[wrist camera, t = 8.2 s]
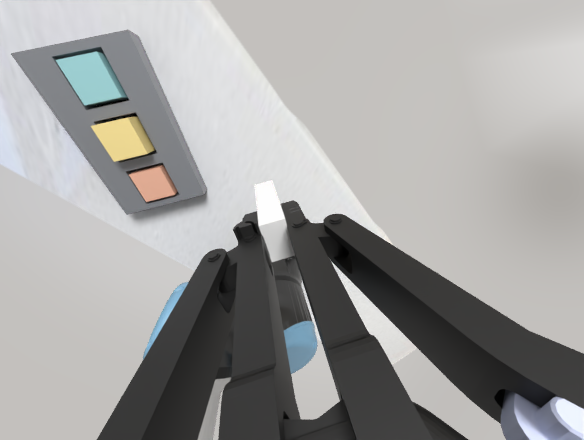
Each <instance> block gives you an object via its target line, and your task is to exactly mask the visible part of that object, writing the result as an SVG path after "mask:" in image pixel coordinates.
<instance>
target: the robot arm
mask: <svg viewBox="0 0 584 440" xmlns="http://www.w3.org/2000/svg"><path fill="white" fill-rule="evenodd" d="M254 186H255V195H256V205H257V211H256V212H253V213H249V214H246V215H245V216H244V218H243V222H240V223H239V224H237V225H236V226H235V227H234V229H233V231H234V233H235V235H236V238H237V240H238V246H237V247H236V248H234V249H232V250H230V251H228V252H226V251H225V250H224V249H215V250H212V251H210V252H209V253H207V254H206V255H205V256H204V257H203V258H202V260H201V262H200V264H199V265H198V267H197V269H196V270H195V272H194V274H193V276H192V277H191V279H190V281H189V282H185V283H182V284H180V285H179V286H178V287H177V288H176V289H175V290H174V292H173V293H172V294H171V296H170V298H169V300H168V301H167V303H166V305H165V307H164V309H163V311H162V313H161V315H160V317H159V319H158V321H157V323H156V326H155V328H154V330H153V332H152V334H151V337H150V340H149V343H148V345H147V348H146V349H145V352H144V356H143V361H142V363H141V365H140V367H139V368H138V370H137V372H136V373H135V375H134V377H133V379H132V380H131V382H130V384H129V385H128V387H127V389H126V391H125V392H124V394H123V396H122V397H121V399H120V401H119V403H118V404H117V406H116V408H115V410H114V411H113V413H112V415H111V416H110V418H109V420H108V421H107V423H106V425H105V427H104V428H103V430H102V432H101V433H100V435H99V437H98V439H97V440H213V435H214V429H215V423H216V417H217V410H218V404H219V399H220V393H221V392H222V390H223V389H224V390H223V395H222V402H221V415H220V427H219V439H218V440H468V439H467V438H465V437H464V436H463V435H461V434H460V433H458V432H457V431H456V430H454V429H453V428H452V427H450V426H449V425H447V424H446V423H444V422H443V421H442V420H441V419H439V418H438V417H436V416H435V415H434V414H432V413H431V412H429V411H428V410H426V409H425V408H423V407H421V406H420V405H418V404H416V403H414V402H412V401H411V399H410V397H409V395H408V394H407V392H406V390H405V388H404V386H403V385H402V383H401V381H400V379H399V377H398V376H397V374H396V372H395V370H394V368H393V367H392V365H391V363H390V361H389V359H388V357H387V356H386V354H385V352H384V350H383V348H382V347H381V345H380V343H379V342H378V340H377V339H376V338H375V337H374V336H373V335H370V334H369V332H368V331H367V329H366V327H365V325H364V323H363V322H362V320H361V318H360V316H359V314H358V312H357V310H356V308H355V306H354V305H353V303H352V301H351V299H350V297H349V295H348V293H347V291H346V289H345V288H344V286H343V284H342V282H341V280H340V278H339V276H338V274H337V272H336V270H335V269H334V267H333V265H332V263H331V261H332V262H333V263H334V264H335V265H336V266H337V267H338V268H339V269H340V270H341V271H342V272H343V273H344V274H345V275H346V276H347V277H348V278H349V279H350V280H351V281H352V282H353V283H354V284H355V285H356V286H357V287H358V288H359V289H360V291H361V292H362V293H363V294H364V295H365V296H366V297H367V298H368V299H369V300H370V301H371V302H372V303H373V304H374V305H375V306H376V307H377V308H378V309H379V310H380V311H381V312H382V313H383V314H384V315H385V316H386V317H387V318H388V319H389V320H390V321H391V322H392V323H393V324H394V325H395V326H396V327H397V328H398V329H399V330H400V331H401V332H402V333H403V334H404V335H405V336H406V337H407V338H408V339H409V340H410V341H411V342H412V343H413V344H414V345H415V346H416V347H417V348H418V349H419V350H421V352H422V353H423V354H424V355H425V356H426V357H427V358H428V359H429V360H430V361H431V362H432V363H433V364H434V365H435V366H436V367H437V368H438V369H439V370H440V371H441V372H442V373H443V374H444V375H445V376H446V377H447V378H448V379H449V380H450V381H451V382H452V383H453V384H454V385H455V386H456V387H457V388H458V389H459V390H460V391H462V392H463V393H464V394H465V395H466V396H467V397H468V398H469V399H470V400H471V401H472V402H474V403H475V404H476V405H477V406H479V407H480V408H481V409H482V410H483V411H485V412H486V413H487V414H489V415H490V416H491V417H492V418H494V419H495V420H496V421H498V422H499V423H500V424H501V428H502V430H503V434H504V436H505V438H506V440H584V354H583V353H580V352H578V351H575V350H573V349H571V348H569V347H566V346H564V345H561V344H559V343H557V342H554V341H552V340H549V339H547V338H545V337H542V336H540V335H538V334H535V333H533V332H530V331H528V330H527V329H525V328H524V327H522V326H520V325H519V324H517V323H516V322H514V321H513V320H511V319H509V318H508V317H506V316H504V315H503V314H501V313H500V312H498V311H497V310H495V309H493V308H492V307H490V306H488V305H487V304H485V303H484V302H482V301H480V300H479V299H477V298H476V297H474V296H473V295H471V294H469V293H468V292H466V291H465V290H463V289H461V288H460V287H458V286H457V285H455V284H453V283H452V282H450V281H449V280H447V279H445V278H444V277H442V276H441V275H439V274H438V273H436V272H434V271H433V270H431V269H430V268H428V267H426V266H425V265H423V264H422V263H420V262H418V261H417V260H415V259H414V258H412V257H411V256H409V255H407V254H405V253H404V252H403V251H401V250H399V249H398V248H396V247H395V246H393V245H391V244H390V243H388V242H387V241H385V240H383V239H382V238H380V237H379V236H377V235H375V234H374V233H372V232H371V231H369V230H367V229H366V228H364V227H363V226H361V225H360V224H358V223H356V222H355V221H353V220H352V219H350V218H348V217H347V216H345V215H342V214H332V215H329V216H327V217H326V218H325V219H324V223H310V221H309V220H308V219H306V218H305V216H304V214H303V212H302V210H301V208H300V207H299V204H298V203H297V202H295V201H289V202H286V203H282V204H280V202H279V199H278V196H277V193H276V190H275V187H274V184H273V181H272V180H270V181H267V182H263V183H259V184H256V185H254ZM329 258H330V259H329ZM330 260H331V261H330ZM302 280H303V284H304V287H305V290H306V293H307V296H308V299H309V303H310V306H311V309H312V312H313V315H314V319H315V322H316V325H317V328H318V331H319V335H320V338H321V341H322V344H323V347H324V351H325V354H326V357H327V360H328V363H329V366H330V370H331V373H332V376H333V379H334V382H335V386H336V389H337V392H338V396H339V399H340V402H339V403H337V404H336V405H335V406H333V407H332V408H331V409H330V410H328V411H327V412H326V413H324V414H323V415H322V416H320V417H319V418H317V419H315V420H301V419H300V415H299V411H298V407H297V404H296V400H295V395H294V389H293V383H292V377H291V374H292V373H294V372H296V371H298V370H299V369H301V368H302V367H304V366H305V365H306V364H307V363H308V362H309V361H310V360H311V359H312V357H313V356H314V355H315V352H316V349H317V339H316V334H315V329H314V324H313V322H312V319H311V316H310V313H309V310H308V306H307V303H306V300H305V297H304V293H303V290H302V287H301V283H302Z"/></svg>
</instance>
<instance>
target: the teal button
mask: <svg viewBox="0 0 584 440" xmlns="http://www.w3.org/2000/svg"><path fill="white" fill-rule="evenodd" d="M56 62H57V63H58V65H59V66H60V68H61V70H62V71H63V73H64V74H65V76H66V77H67V79H68V81H69V82H70V84H71V85H72V87H73V88H74V90H75V91H76V93H77V95H78V96H79V98H80V99H81V101H82V102H83V104H84V105H101V104H105V103H110V102H114V101H119V100H123V99H128V97H127V95H126V93H125V91H124V89H123V87H122V85H121V84H120V82H119V80H118V78H117V76H116V74H115V72H114V70H113V69H112V67H111V65H110V63H109V61H108V59H107V57H106V55H105V54H103V53H100V52H92V53H87V54H82V55H78V56H73V57H68V58H63V59H58V60H56Z"/></svg>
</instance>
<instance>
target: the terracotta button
mask: <svg viewBox="0 0 584 440" xmlns="http://www.w3.org/2000/svg"><path fill="white" fill-rule="evenodd" d="M129 176H130V177H131V179H132V181H133V182H134V184H135V185H136V187H137V188H138V190H139V192H140V193H141V195H142V196H143V198H144V199H145V201H146V202H148V201H152V200H156V199H160V198H164V197H168V196H172V195H175V194H176V193H177V189H176V187H175V185H174V183H173V181H172V179H171V178H170V176H169V174H168V172H167V170H166V168H165V166H164V164H163V163H162V164H158V165H154V166H150V167H146V168H142V169H138V170H136V171H134V172H133V173H131V174H129Z"/></svg>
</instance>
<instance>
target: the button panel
mask: <svg viewBox="0 0 584 440" xmlns="http://www.w3.org/2000/svg"><path fill="white" fill-rule="evenodd" d="M92 52H100V53H103V54H105V55H106V57H107V59H108V61H109V63H110V65H111V67H112V69H113V70H114V72H115V74H116V76H117V78H118V80H119V82H120V84H121V85H122V87H123V89H124V91H125V93H126V95H127V97H128V99H129V101H125V102H120V103H116V104H111V105H107V106H102V107H97V106H96V105H84V104H83V102H82V101H81V99H80V98H79V96H78V95H77V93H76V91H75V90H74V88H73V87H72V85H71V84H70V82H69V81H68V79H67V77H66V76H65V74H64V73H63V71H62V70H61V68H60V66H59V65H58V63H57V62H56V60H58V59H63V58H68V57H73V56H78V55H82V54H87V53H92ZM11 55H12V56H13V58H14V59H15V60H16V62H17V63H18V65H19V66H20V67H21V69H22V70H23V71H24V73H25V74H26V76H27V77H28V78H29V80H30V81H31V83H32V84H33V85H34V87H35V88H36V90H37V91H38V92H39V94H40V95H41V96H42V98H43V99H44V101H45V102H46V103H47V105H48V106H49V108H50V109H51V110H52V112H53V113H54V114H55V116H56V117H57V119H58V120H59V121H60V123H61V124H62V126H63V127H64V128H65V130H66V131H67V133H68V134H69V135H70V137H71V138H72V139H73V141H74V142H75V144H76V145H77V146H78V148H79V149H80V151H81V152H82V153H83V155H84V156H85V157H86V159H87V160H88V162H89V163H90V164H91V166H92V167H93V169H94V170H95V171H96V173H97V174H98V176H99V177H100V178H101V180H102V181H103V182H104V184H105V185H106V187H107V188H108V189H109V191H110V192H111V194H112V195H113V196H114V198H115V199H116V201H117V202H118V203H119V205H120V206H121V207H122V209H123V210H124V212H125V213H126V214H127V215H128V214H132V213H136V212H139V211H143V210H147V209H151V208H155V207H159V206H162V205H166V204H170V203H174V202H178V201H182V200H185V199H189V198H193V197H197V196H201V195H204V194H205V192H206V190H207V188H206V185H205V183H204V181H203V179H202V176H201V174H200V172H199V170H198V167H197V165H196V163H195V161H194V159H193V156H192V154H191V152H190V150H189V147H188V145H187V143H186V141H185V138H184V136H183V134H182V132H181V130H180V127H179V125H178V123H177V121H176V118H175V116H174V114H173V112H172V109H171V107H170V105H169V103H168V101H167V98H166V96H165V94H164V92H163V89H162V87H161V85H160V83H159V80H158V78H157V76H156V74H155V72H154V69H153V67H152V65H151V63H150V60H149V58H148V56H147V54H146V51H145V49H144V47H143V45H142V43H141V40H140V38H139V36H137V35H136V34H134V33H133V32H131V31H129V30H124V31H119V32H114V33H109V34H105V35H100V36H95V37H90V38H85V39H80V40H75V41H70V42H65V43H60V44H55V45H50V46H45V47H41V48H36V49H31V50H26V51H21V52H16V53H11ZM135 113H136V114H137V116H138V117H139V119H140V121H141V123H142V125H143V127H144V129H145V131H146V132H147V134H148V136H149V138H150V140H151V142H152V144H153V146H154V147H155V149H156V151H157V152H153V153H149V154H145V155H141V156H136V157H132V158H128V159H124V160H120V161H116V162H114V161H113V160H112V158H111V157H110V155H109V154H108V152H107V151H106V149H105V148H104V146H103V144H102V143H101V141H100V140H99V138H98V137H97V135H96V134H95V132H94V131H93V129H92V128H91V126H93V125H97V124H101V123H106V120H109V119H113V118H118V117H122V116H126V115H131V114H135ZM159 163H163V164H164V166H165V168H166V170H167V172H168V174H169V176H170V178H171V179H172V181H173V183H174V185H175V187H176V189H177V193H176V194H175V195H172V196H168V197H164V198H160V199H156V200H152V201H148V202H146V201H145V199H144V198H143V196H142V195H141V193H140V192H139V190H138V188H137V187H136V185H135V184H134V182H133V181H132V179H131V177H130V176H129V174H131V173H133V172H134V171H136V169H139V168H143V167H147V166H151V165H155V164H159Z"/></svg>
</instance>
